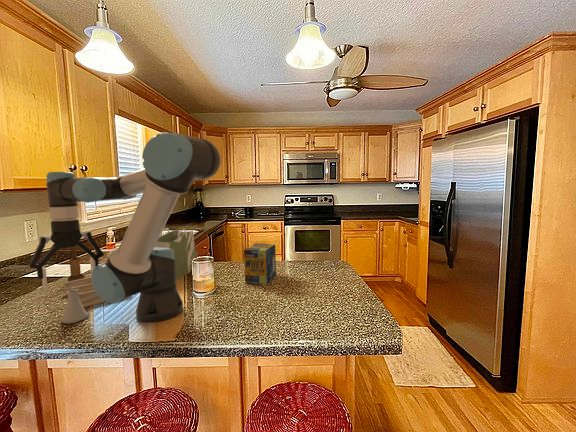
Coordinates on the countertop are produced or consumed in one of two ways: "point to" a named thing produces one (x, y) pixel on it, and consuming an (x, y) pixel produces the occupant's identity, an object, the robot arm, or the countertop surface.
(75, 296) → the flask
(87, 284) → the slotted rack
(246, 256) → the protein box
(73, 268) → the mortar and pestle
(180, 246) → the grocery bag
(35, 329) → the countertop surface
